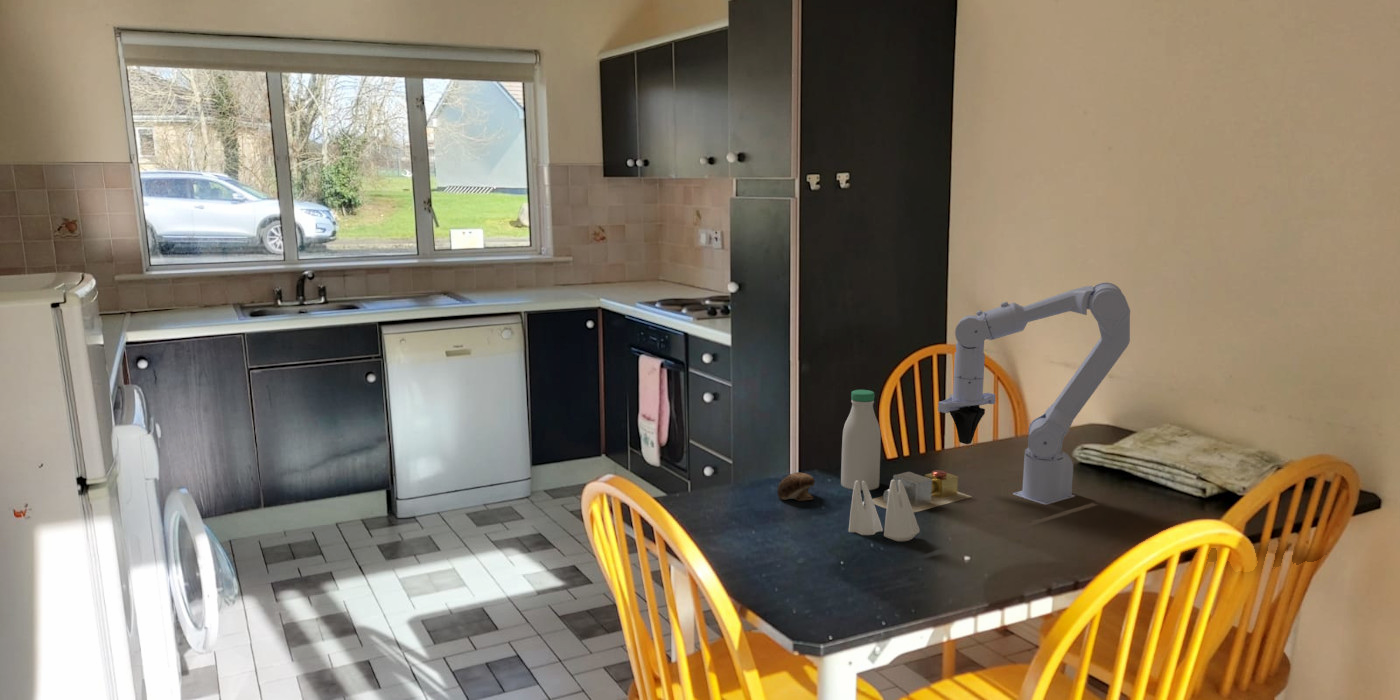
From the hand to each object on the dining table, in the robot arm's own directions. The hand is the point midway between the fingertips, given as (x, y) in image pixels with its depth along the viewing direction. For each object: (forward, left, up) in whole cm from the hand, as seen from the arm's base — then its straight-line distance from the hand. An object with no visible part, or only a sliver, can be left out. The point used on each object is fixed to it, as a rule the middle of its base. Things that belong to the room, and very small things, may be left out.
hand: (965, 442), depth 196 cm
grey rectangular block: (+17, 0, -9) cm, 19 cm away
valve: (+8, 0, -9) cm, 12 cm away
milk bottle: (+16, -13, -10) cm, 23 cm away
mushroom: (+32, -14, -10) cm, 36 cm away
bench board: (+12, 0, -10) cm, 16 cm away
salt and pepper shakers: (+32, +10, -10) cm, 35 cm away
